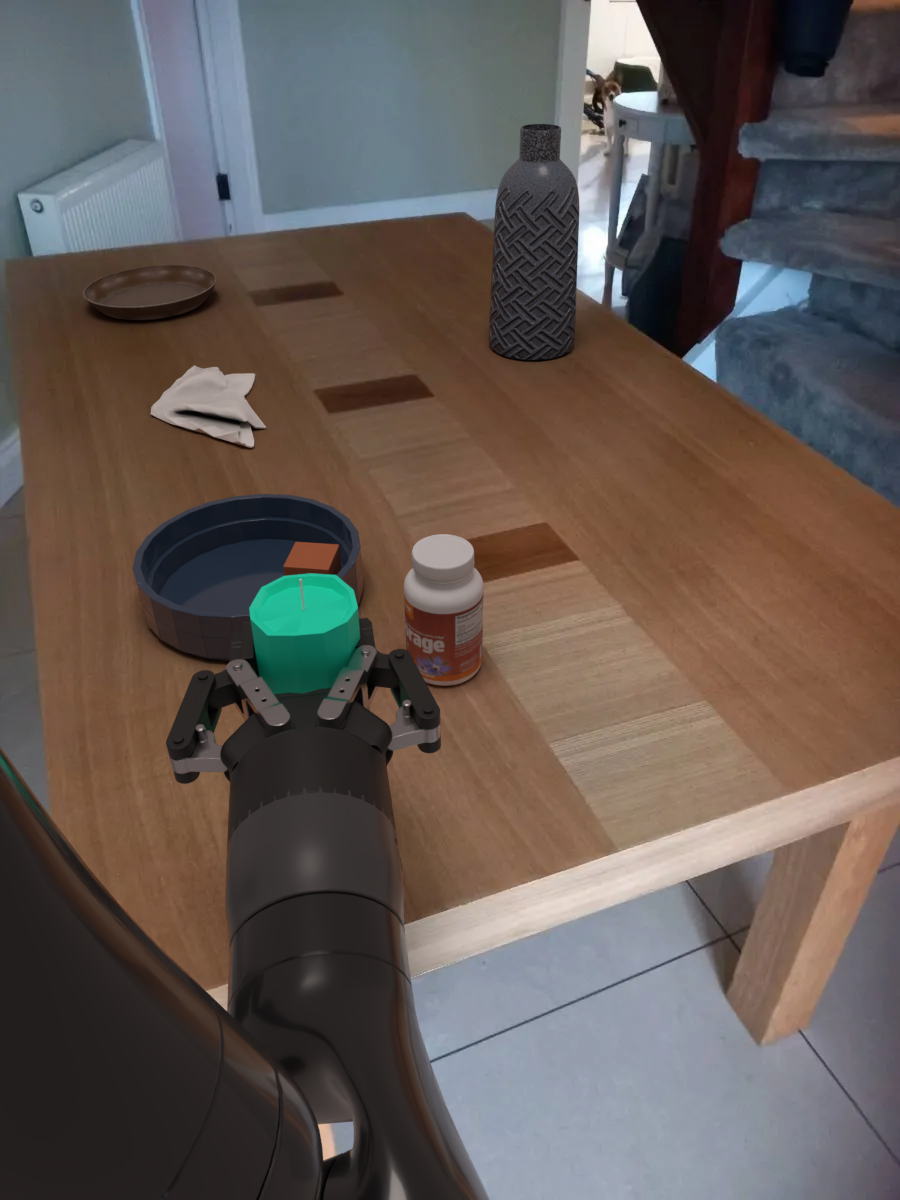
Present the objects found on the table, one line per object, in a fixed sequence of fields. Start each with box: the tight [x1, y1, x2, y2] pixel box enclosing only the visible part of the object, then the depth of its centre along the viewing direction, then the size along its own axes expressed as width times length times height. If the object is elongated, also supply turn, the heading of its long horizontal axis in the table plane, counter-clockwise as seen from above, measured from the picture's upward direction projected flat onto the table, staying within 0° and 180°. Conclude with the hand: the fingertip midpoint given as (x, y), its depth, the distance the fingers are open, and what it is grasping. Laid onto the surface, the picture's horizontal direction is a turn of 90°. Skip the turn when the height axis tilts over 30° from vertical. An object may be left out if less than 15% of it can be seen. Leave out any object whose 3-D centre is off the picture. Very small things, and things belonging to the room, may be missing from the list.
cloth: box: [150, 364, 267, 449], centre depth 115 cm, size 26×14×2 cm, turn 13°
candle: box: [249, 573, 360, 694], centre depth 53 cm, size 6×6×12 cm
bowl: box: [132, 493, 365, 662], centre depth 82 cm, size 19×19×5 cm
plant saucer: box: [82, 264, 217, 321], centre depth 147 cm, size 21×21×3 cm
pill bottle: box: [403, 533, 485, 687], centre depth 72 cm, size 6×6×11 cm
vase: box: [488, 123, 580, 361], centre depth 123 cm, size 12×12×28 cm
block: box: [283, 542, 341, 576], centre depth 81 cm, size 4×4×4 cm
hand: (302, 628), depth 54 cm, fingers closed on candle, 5 cm apart
